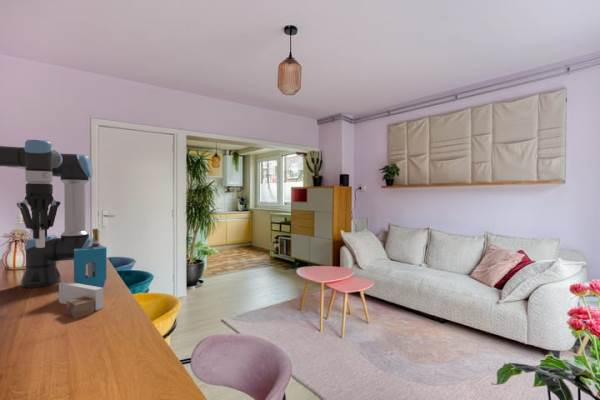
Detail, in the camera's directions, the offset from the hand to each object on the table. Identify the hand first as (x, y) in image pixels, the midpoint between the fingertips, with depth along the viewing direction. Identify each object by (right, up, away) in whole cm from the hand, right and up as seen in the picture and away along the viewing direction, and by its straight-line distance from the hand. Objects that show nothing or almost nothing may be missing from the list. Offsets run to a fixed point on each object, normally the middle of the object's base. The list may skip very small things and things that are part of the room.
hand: (40, 247), depth 112 cm
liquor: (-2, -25, +33) cm, 41 cm away
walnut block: (+13, -25, +2) cm, 29 cm away
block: (+1, -25, +26) cm, 36 cm away
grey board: (+8, -25, +10) cm, 28 cm away
